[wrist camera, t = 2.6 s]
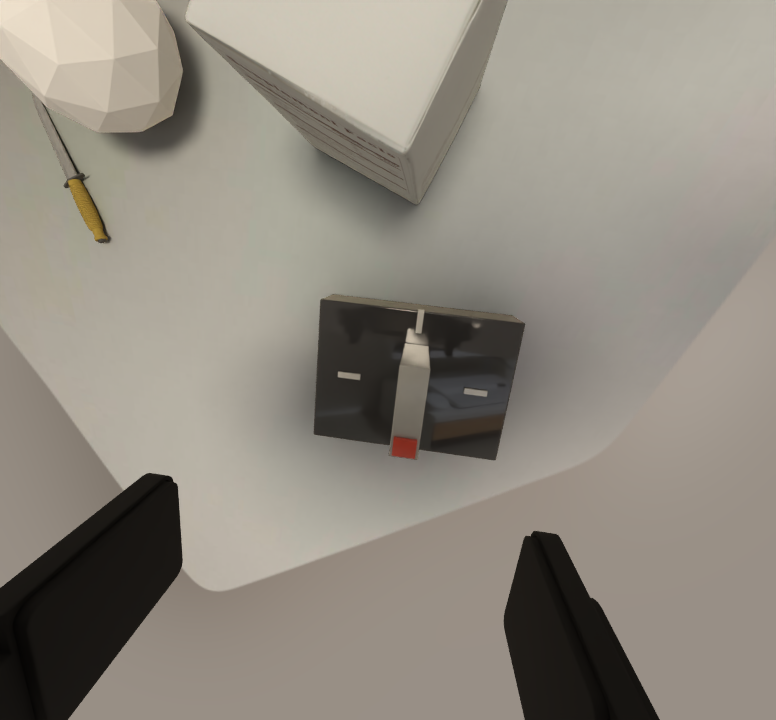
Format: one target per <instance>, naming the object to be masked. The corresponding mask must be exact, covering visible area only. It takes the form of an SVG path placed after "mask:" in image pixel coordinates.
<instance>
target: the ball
mask: <svg viewBox="0 0 776 720" xmlns="http://www.w3.org/2000/svg"><path fill="white" fill-rule="evenodd" d="M0 59H1V60H2V61H3V62H4V63H5V64H6V65H7V66H8V67H9V68H10V69H11V70H12V72H13V73H14V74H15V75H16V76H17V77H18V78H19V79H20V80H21V81H22V82H23V83H24V84H25V85H26V86H27V87H28V88H29V89H30V90H31V91H32V92H33V93H34V94H35V95H36V96H37V97H38V98H39V99H40V100H41V101H42V102H43V104H44V105H45V106H46V107H47V108H49V109H51V110H53V111H55V112H57V113H59V114H61V115H63V116H65V117H67V118H69V119H71V120H73V121H75V122H77V123H79V124H81V125H83V126H85V127H87V128H89V129H91V130H93V131H95V132H97V133H110V132H143V131H145V130H146V129H148V128H150V127H152V126H154V125H156V124H157V123H159V122H161V121H163V120H165V119H167V118H168V117H170V116H172V115H173V112H174V108H175V104H176V100H177V95H178V91H179V87H180V83H181V78H182V73H183V68H182V64H181V59H180V55H179V51H178V46H177V42H176V38H175V34H174V31H173V29H172V27H171V25H170V24H169V22H168V20H167V18H166V16H165V15H164V13H163V11H162V9H161V7H160V6H159V4H158V2H157V1H156V0H0Z"/></svg>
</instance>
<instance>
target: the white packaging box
mask: <svg viewBox="0 0 776 720" xmlns="http://www.w3.org/2000/svg"><path fill="white" fill-rule="evenodd" d="M507 1H508V0H190V1H189V4H188V8H187V11H186V14H185V20H186V22H187V23H188V24H189V25H190V26H191V27H192V28H193V29H194V30H195V31H196V32H197V33H198V34H199V35H200V36H201V37H202V38H203V39H204V40H205V41H206V42H207V43H208V44H210V45H211V46H212V47H213V48H214V49H215V50H216V51H217V52H218V53H219V54H220V55H221V56H222V57H223V58H224V59H225V60H226V61H227V62H228V63H229V64H230V65H231V66H232V67H233V68H234V69H235V70H236V71H237V72H238V73H239V74H240V75H241V76H243V77H244V78H245V79H246V80H247V81H248V82H249V83H250V84H251V85H252V86H253V87H254V88H255V89H256V90H257V91H258V92H259V93H260V94H261V95H263V96H264V97H265V98H266V99H267V100H268V101H269V102H270V103H271V104H272V105H273V106H274V107H275V108H276V109H277V110H278V111H279V112H280V113H281V114H282V115H283V116H284V117H285V118H286V119H287V120H288V121H289V122H290V123H291V124H292V125H293V126H294V127H295V128H296V129H297V130H298V131H299V132H300V133H301V134H302V135H303V136H304V137H305V138H306V139H307V141H308V142H310V143H311V144H312V145H313V146H314V147H315V148H317V149H319V150H321V151H323V152H324V153H326V154H328V155H330V156H331V157H333V158H335V159H337V160H338V161H340V162H342V163H344V164H345V165H347V166H349V167H350V168H352V169H354V170H356V171H357V172H359V173H361V174H363V175H364V176H366V177H368V178H370V179H371V180H373V181H375V182H377V183H378V184H380V185H382V186H384V187H385V188H387V189H389V190H391V191H393V192H394V193H396V194H398V195H400V196H401V197H403V198H405V199H407V200H409V201H410V202H412V203H414V204H416V205H418V204H419V203H420V201H421V199H422V198H423V196H424V194H425V192H426V190H427V189H428V187H429V185H430V183H431V181H432V179H433V177H434V176H435V174H436V172H437V170H438V168H439V166H440V164H441V162H442V161H443V159H444V157H445V155H446V153H447V151H448V149H449V147H450V146H451V144H452V142H453V140H454V138H455V136H456V134H457V132H458V130H459V128H460V126H461V124H462V122H463V120H464V118H465V116H466V114H467V112H468V110H469V108H470V106H471V104H472V102H473V100H474V98H475V96H476V94H477V92H478V90H479V88H480V86H481V82H482V78H483V75H484V72H485V69H486V66H487V63H488V60H489V57H490V53H491V50H492V47H493V44H494V41H495V38H496V35H497V32H498V29H499V26H500V22H501V19H502V16H503V13H504V10H505V7H506V4H507Z"/></svg>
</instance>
